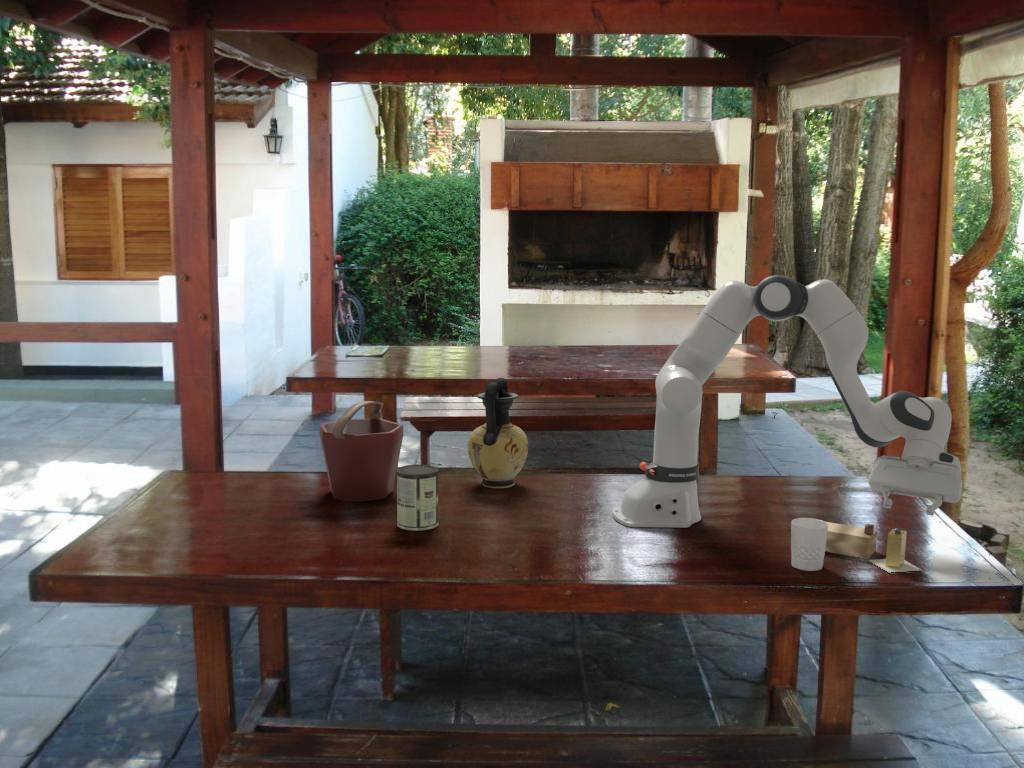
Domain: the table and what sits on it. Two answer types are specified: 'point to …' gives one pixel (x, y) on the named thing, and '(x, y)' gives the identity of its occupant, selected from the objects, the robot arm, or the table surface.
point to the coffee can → (417, 497)
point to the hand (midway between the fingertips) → (907, 510)
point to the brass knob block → (896, 548)
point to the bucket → (361, 454)
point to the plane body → (851, 540)
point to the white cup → (808, 543)
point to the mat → (904, 568)
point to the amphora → (497, 439)
